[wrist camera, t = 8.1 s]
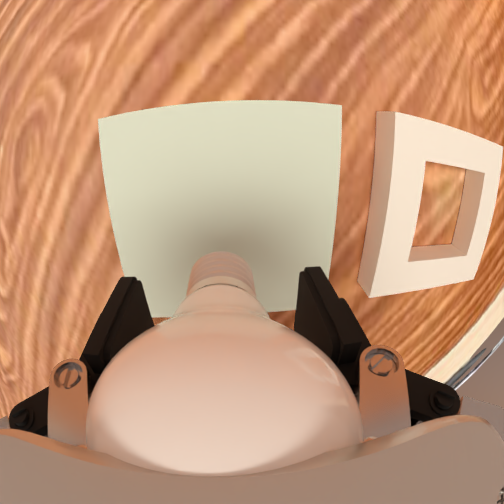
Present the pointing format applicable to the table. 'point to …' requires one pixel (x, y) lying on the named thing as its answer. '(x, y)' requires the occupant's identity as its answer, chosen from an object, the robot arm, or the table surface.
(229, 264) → the lightbulb
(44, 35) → the table surface
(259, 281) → the sage mat
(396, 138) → the pocket holder
